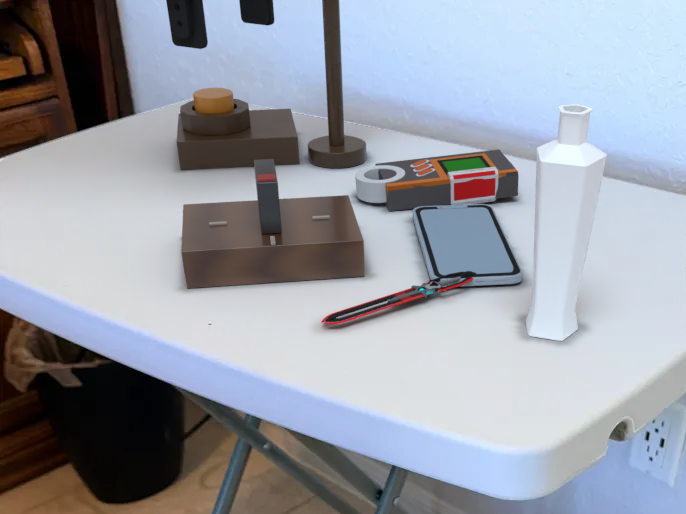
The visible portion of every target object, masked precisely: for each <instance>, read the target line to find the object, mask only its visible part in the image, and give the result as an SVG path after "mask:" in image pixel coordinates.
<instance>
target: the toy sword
mask: <svg viewBox="0 0 686 514" xmlns="http://www.w3.org/2000/svg"><path fill="white" fill-rule="evenodd" d="M475 274H476V273H475V272H472V271H466V272H457V273H452V274H448V275H445V276H442V277H439V278H436V279H433V280H431V279H430V280H428V281H427V282H423V283H422V284H421V285H415V284H414V285H411V287H410V288H406V289H404V290H400V291H397V292H394V293H391V294H388V295H385V296H382V297H379V298H376V299H373V300H369V301H365V302H363V303H360V304H357V305H354V306H350V307H347V308H344V309H341V310H338V311H335V312H332V313H329V314H328V315H326V316H325V317H324V318H323V319H322V320H321V322H320V323H321V324H322V325H338V324H343V323H346V322H350V321H353V320H356V319H359V318H362V317H365V316H368V315H371V314H374V313H378V312H380V311H383V310H386V309H390V308H392V307H395V306H398V305H401V304H405V303H407V302H410V301H414V300H417V299H420V298H422V297H423V298H427V297H428V295H433V294H436V293H437V292H441V293H444V292H445V291H448V290H451V289H455V288H459V286H461V287H463V286H462V285H464V284H466V283H468V282H470V281H471V280H473V277H472V276H473V275H475ZM457 275H459V277H456V278H453V279H450V280H447V281H443V282H440V283H439V281H440V279H443V278H446V277H450V276H457ZM463 278H465V279H464V280H463V281H461V282H458V283H455V284H452V285H449V286H446V287H441V286H444V285H447V284H450V283H453V282H457V281H460V279H463ZM348 314H349V315H348Z"/></svg>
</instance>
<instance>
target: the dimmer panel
mask: <svg viewBox="0 0 686 514" xmlns="http://www.w3.org/2000/svg"><path fill="white" fill-rule="evenodd" d="M279 204H280V216H281V228H282V233H271V234H262V233H261V225H260V217H259V209H258V199H256V200H239V201H238V200H237V201H236V200H235V201H218V202H203V203H202V202H201V203H185V204H183V206H182V225H181V227H182V228H181V248H180V249H181V250H180V253H181V260H182V267H183V272H184V279H185V285H186V289H197V288H212V287H213V288H214V287H228V286H241V285H242V286H243V285H255V284H271V283H284V282H285V283H286V282H288V283H289V282H300V281H301V282H302V281H316V280H330V279H331V280H332V279H346V278H360V277H361V278H362V277H365V276H366V275H365V245H364V244H365V243H364V242H365V241H364V237H363V235H362V231H361V228H360V226H359V222H358V220H357V218H356V213H355V210H354V208H353V204H352V201H351V199H350V196H349V195H348V194H346V195H345V194H344V195H328V196H327V195H326V196H308V197H291V198H279Z"/></svg>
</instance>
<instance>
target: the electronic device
mask: <svg viewBox="0 0 686 514" xmlns="http://www.w3.org/2000/svg"><path fill="white" fill-rule="evenodd" d="M354 177H355V190H356V197H357V198H358V199H359V200H361V201H363V202H366V203H372V204H373V203H374V204H382V203H383V204H385V206H386V208H387V210H388V212H395V211H405V210H413V209H415V208H417V207H421V206H443V205H467V204H485V203H491V202H496V201H497V199H503V198H510V197H511V198H512V197H518V196H519V177H520V176H519V171H518V170H517V168H516V167H515V166H514V164H513V163H512V161H510V160H509V159H508V158H507V157H506V155H505V154H504V153H503V152H502V150H501V149H490V150H482V151H481V150H480V151H474V152H465V153H457V154H456V153H455V154H447V155H439V156H430V157H421V158H413V159H404V160H403V159H402V160H396V161H394V160H393V161H387V162H379V163H375V165H372V166H366V167H364V168H362V169H359V170H358V171H357V172H356V173H355V174H354Z"/></svg>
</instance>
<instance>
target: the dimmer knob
mask: <svg viewBox="0 0 686 514" xmlns="http://www.w3.org/2000/svg"><path fill="white" fill-rule="evenodd" d="M253 169H254V176H255V177H254V178H255V188H256V198H257V199H256V200H258V209H259V217H260V225H261V233H262V234H271V233H282V228H281V216H280V204H279V199H280V194H279V182H278V175H277V172H276V165H275V164H274V160H273V159H262V160H254V166H253Z"/></svg>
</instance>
